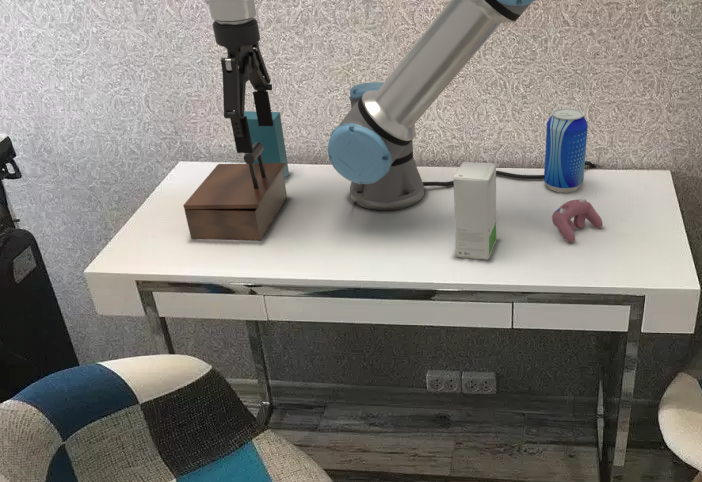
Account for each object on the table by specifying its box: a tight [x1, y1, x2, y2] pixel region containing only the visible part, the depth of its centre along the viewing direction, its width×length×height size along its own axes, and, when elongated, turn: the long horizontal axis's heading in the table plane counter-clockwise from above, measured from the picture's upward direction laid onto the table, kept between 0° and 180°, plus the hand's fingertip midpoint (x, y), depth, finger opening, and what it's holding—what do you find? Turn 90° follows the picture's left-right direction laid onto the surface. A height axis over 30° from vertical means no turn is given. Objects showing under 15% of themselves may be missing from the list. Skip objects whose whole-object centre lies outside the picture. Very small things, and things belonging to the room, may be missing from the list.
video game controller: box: [551, 198, 603, 244], centre depth 151 cm, size 10×5×7 cm, turn 135°
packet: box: [244, 110, 290, 179], centre depth 169 cm, size 8×5×14 cm, turn 87°
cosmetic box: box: [452, 161, 497, 260], centre depth 142 cm, size 8×7×16 cm
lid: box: [183, 142, 286, 209], centre depth 150 cm, size 14×19×8 cm
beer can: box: [543, 107, 589, 194], centre depth 165 cm, size 8×8×16 cm
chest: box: [183, 172, 288, 242], centre depth 154 cm, size 13×19×7 cm
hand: (256, 138), depth 147 cm, fingers open, 13 cm apart
